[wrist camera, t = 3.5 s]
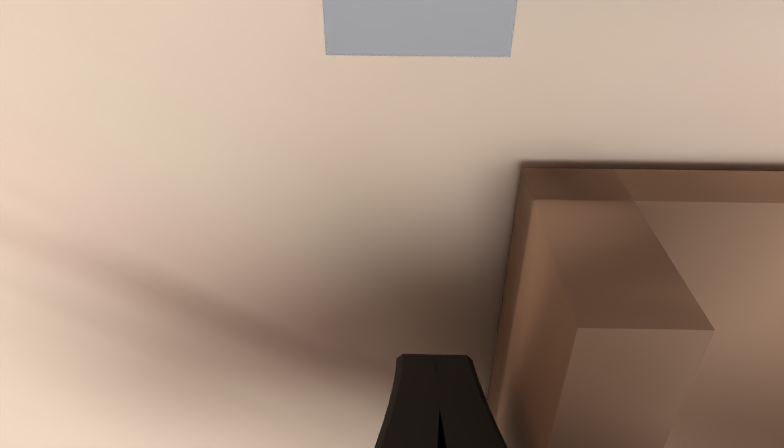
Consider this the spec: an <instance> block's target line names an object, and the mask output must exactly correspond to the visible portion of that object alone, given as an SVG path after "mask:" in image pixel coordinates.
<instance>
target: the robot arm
mask: <svg viewBox="0 0 784 448" xmlns="http://www.w3.org/2000/svg"><path fill="white" fill-rule="evenodd" d="M375 448H508V447H507V445H506V443H505V441H504V439H503V437H502V435H501V433H500V430H499V428H498V426H497V424H496V422H495V419H494V417H493V415H492V412H491V410H490V408H489V405H488V403H487V401H486V398H485V396H484V393H483V391H482V388H481V385H480V382H479V380H478V377H477V374H476V371H475V368H474V364H473V360H472V359H471V358H470V357H468V356H467V355H428V354H402V355H401V356H399V357H398V358H397V360H396V371H395V377H394V383H393V388H392V392H391V396H390V400H389V404H388V407H387V411H386V414H385V418H384V421H383V424H382V427H381V430H380V433H379V436H378V439H377V442H376V445H375Z"/></svg>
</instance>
